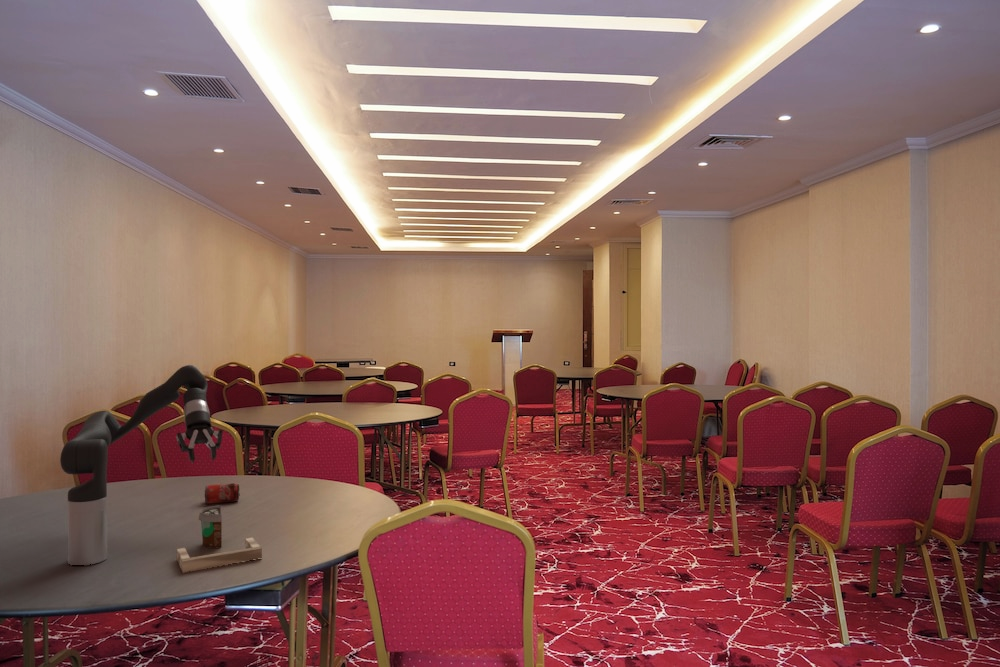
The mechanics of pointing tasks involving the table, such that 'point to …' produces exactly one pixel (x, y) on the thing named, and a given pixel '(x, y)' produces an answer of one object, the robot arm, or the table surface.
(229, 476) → the table surface
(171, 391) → the robot arm
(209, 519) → the food container
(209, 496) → the beverage can
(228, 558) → the wooden bridge piece
